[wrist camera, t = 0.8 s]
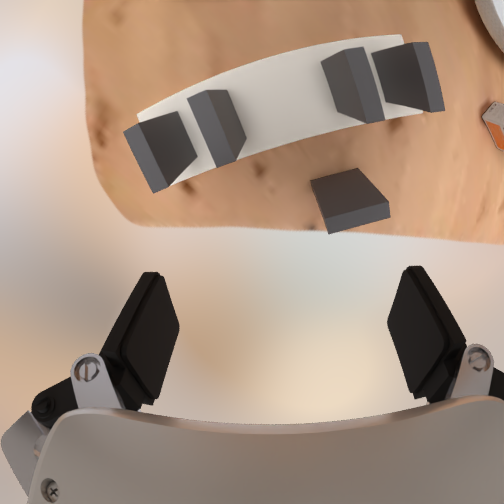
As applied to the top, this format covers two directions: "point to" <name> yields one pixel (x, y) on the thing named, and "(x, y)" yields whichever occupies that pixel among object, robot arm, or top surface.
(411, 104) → the domino
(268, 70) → the board
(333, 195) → the domino
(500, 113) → the skincare box
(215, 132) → the domino
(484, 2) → the cereal bowl
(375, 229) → the top surface
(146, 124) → the domino
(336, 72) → the domino
